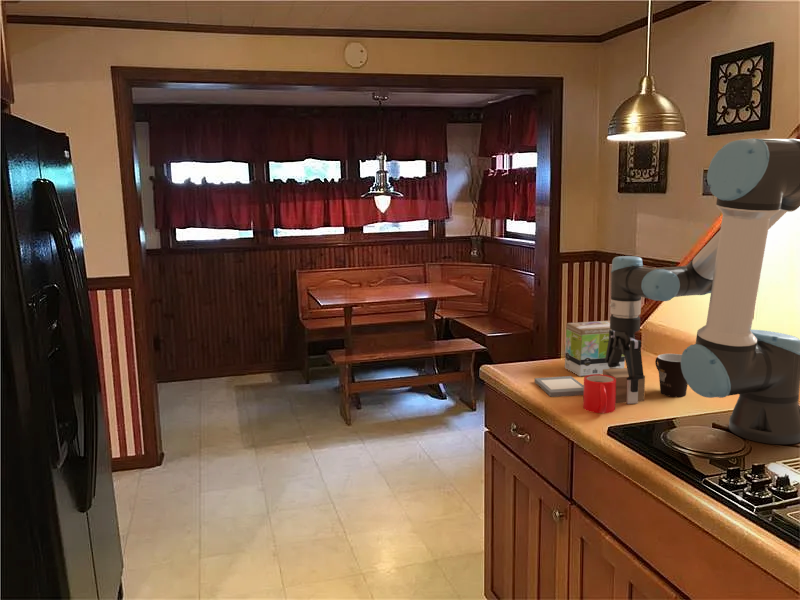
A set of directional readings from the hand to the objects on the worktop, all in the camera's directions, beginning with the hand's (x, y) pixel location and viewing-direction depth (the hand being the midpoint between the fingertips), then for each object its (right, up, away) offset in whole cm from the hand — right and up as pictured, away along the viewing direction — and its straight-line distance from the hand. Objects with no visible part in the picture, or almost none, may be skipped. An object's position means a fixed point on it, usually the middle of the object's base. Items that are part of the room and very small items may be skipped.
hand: (622, 396), depth 177 cm
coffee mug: (+15, +1, +4) cm, 15 cm away
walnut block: (0, 0, 0) cm, 0 cm away
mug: (-9, -2, -10) cm, 14 cm away
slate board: (-14, +1, +9) cm, 17 cm away
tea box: (0, +4, +26) cm, 26 cm away
